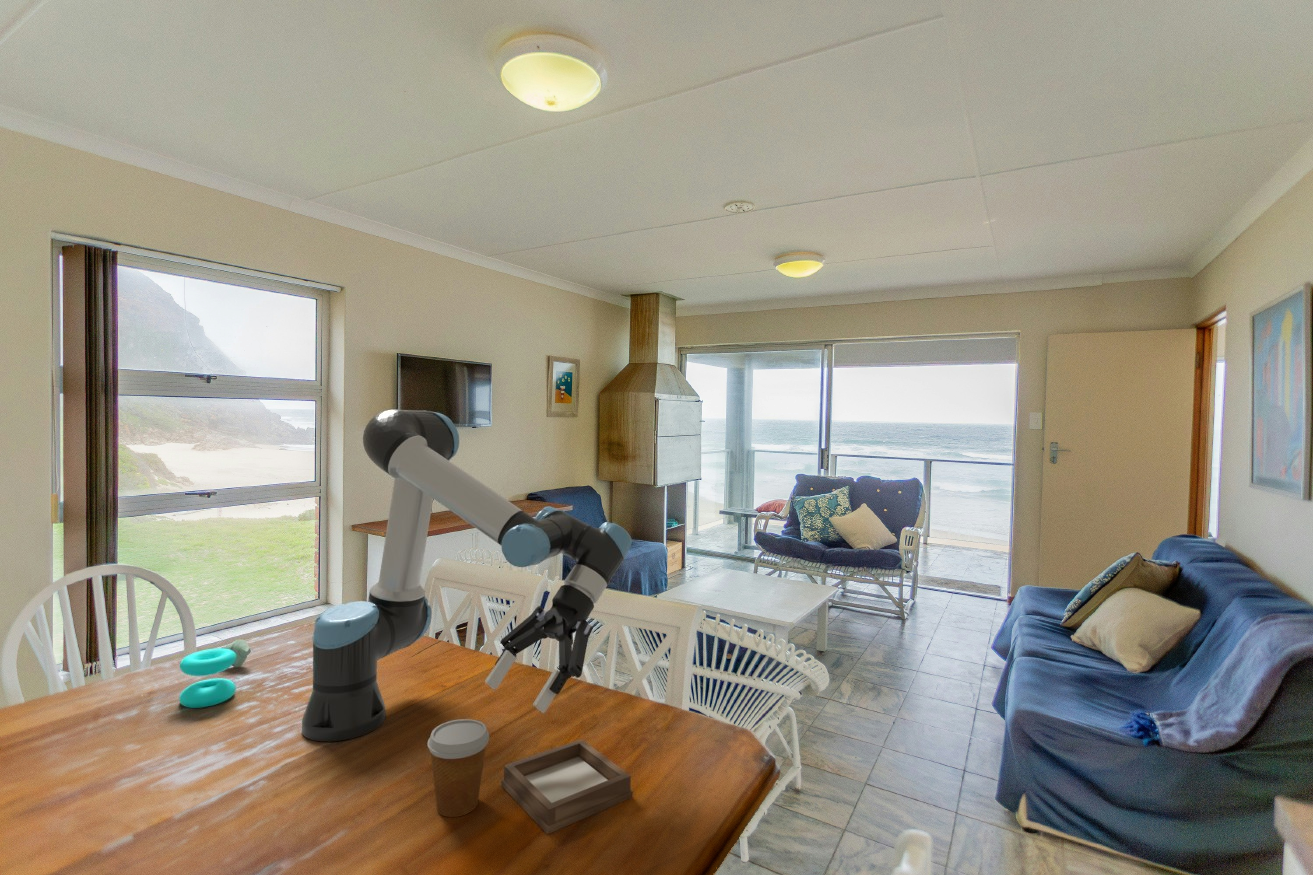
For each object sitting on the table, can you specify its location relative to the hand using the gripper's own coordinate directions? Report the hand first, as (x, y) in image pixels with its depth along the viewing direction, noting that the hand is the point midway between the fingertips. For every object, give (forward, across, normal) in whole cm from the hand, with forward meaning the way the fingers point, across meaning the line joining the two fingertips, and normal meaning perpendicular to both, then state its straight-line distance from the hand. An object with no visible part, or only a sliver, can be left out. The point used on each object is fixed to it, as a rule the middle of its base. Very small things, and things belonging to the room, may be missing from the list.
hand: (513, 697), depth 108 cm
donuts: (+28, +74, +8) cm, 79 cm away
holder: (+7, -10, -13) cm, 18 cm away
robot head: (+21, +90, +1) cm, 92 cm away
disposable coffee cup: (+18, 0, -3) cm, 18 cm away
